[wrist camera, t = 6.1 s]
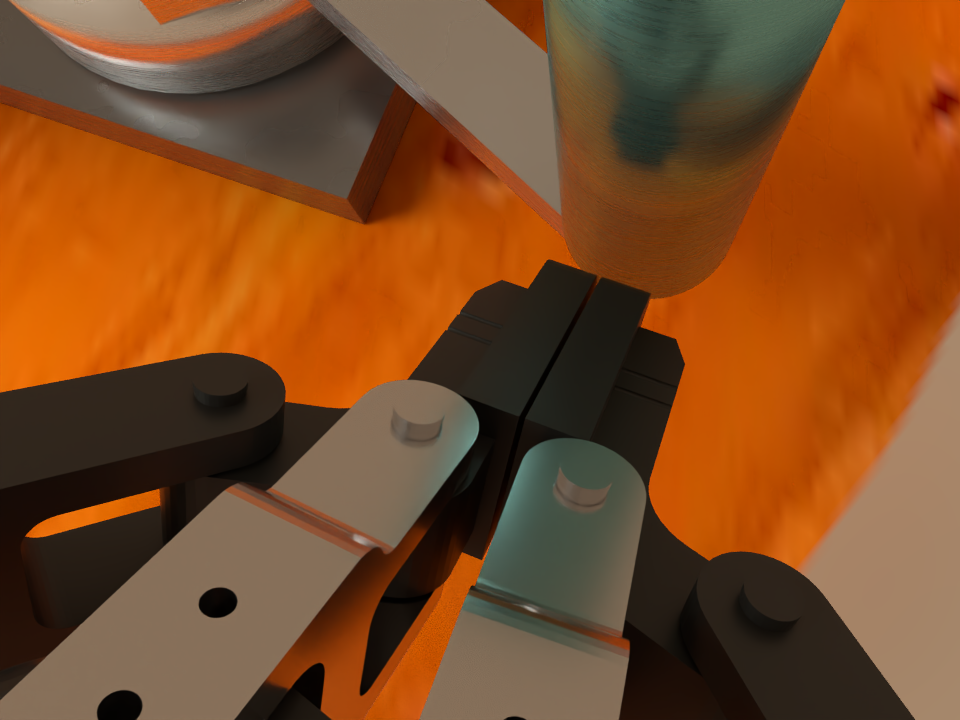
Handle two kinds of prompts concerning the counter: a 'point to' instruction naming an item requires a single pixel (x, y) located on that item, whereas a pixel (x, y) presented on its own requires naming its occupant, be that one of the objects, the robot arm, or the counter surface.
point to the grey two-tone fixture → (525, 97)
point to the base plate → (230, 118)
